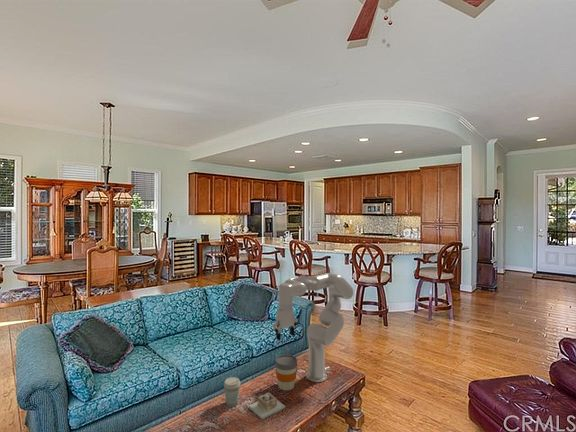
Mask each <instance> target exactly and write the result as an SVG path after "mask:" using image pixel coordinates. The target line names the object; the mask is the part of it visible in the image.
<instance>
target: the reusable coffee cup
mask: <svg viewBox="0 0 576 432" xmlns="http://www.w3.org/2000/svg"><path fill="white" fill-rule="evenodd" d="M274 364H275V365H274V366H275V375H276V380H277V385H278V389H280V390H281V391H291V390H293V389H294V388H295V384H296V379H297V372H298V369H297V367H298V359H297V357H296V356H294V355H290V354H281V355H279V356H278V357H276V359H275V363H274Z"/></svg>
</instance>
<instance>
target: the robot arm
mask: <svg viewBox="0 0 576 432" xmlns="http://www.w3.org/2000/svg"><path fill="white" fill-rule="evenodd" d="M327 288H328V295H329V296H328V297H329V298H328V302H327V303H326V305H325V306H324V308H322V310H321V312H320V314H319V316H318V322H319V323H313V322H312V323H310V324H309V326H308V327H307V328H306V329H307V330H306V335H307V339H308V340H307V342H308V371H307V372H306V373H305V377H306V379H307V380H308V381H311V382H314V383H321V382H325V381H326V380H327V379H328V374H327V372H328V371H330V370H331V367H330V366H325V364H326V363H325V357H326V356H325V354H326V351H325V349H326V348H325V347H329V346H331V345H332V344H334V342H335V340H336V339H337V337H338V336H339V334H340V332H341V331H342V329H343V327H344V324H345V319H344V316H343V315H342V314H341V313H340V311H341V308H342V302H341V299H344V300H350V299H352V297H353V296H354V288H353V287H352V285H351V284H350V283H349V282H348V281H347V280H346V278H344V277H343V276H342V275H340V274H337V273H332V272H326V273H322V274H317V275H312V276H311V275H309V276H298V277H297V276H296V277H291V278H287V279H286V280H285V281H284V282H283V283H282V282H281V283H279V284H278V309H276V316H275V323H274V324H272V326H271V327H272V330H273V331H274V332H275V338H276V340H278V341H281V338H282V337H281V335H282V334H281V331H282V330H283V329H287V328H289V335H291V336H296V335H295V332H296V331H295V329H296V328H297V325H298V321H299V319H298V318H297V317H295V311H294V308H293V305H294V302H293V297H301V296H304V295H305V294H306V293H307V291H319V290H323V289H327Z"/></svg>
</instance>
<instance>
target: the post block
mask: <svg viewBox="0 0 576 432" xmlns="http://www.w3.org/2000/svg"><path fill="white" fill-rule="evenodd" d="M265 401H266V402H267V401H269V395H265ZM248 408H249V409H250V410H251V411H252V412H253V413H254V414H256V415H257V417H258V418H260V419H261V420H265V419H266V418H268V417H270V416H273V415H274V414H276V413H278V412H280V411H282V410H284V409H286V406H285V405H284V404H283V403H282V402H281V401H280V400H278V399H277V407H275V408H273V409H271V410H268V411H266V412H265V411H264V410H263V409H262V408H260V407H259V406H258V400H257V401H255V402H253V403H251V404H249V405H248Z"/></svg>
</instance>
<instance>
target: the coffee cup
mask: <svg viewBox="0 0 576 432" xmlns="http://www.w3.org/2000/svg"><path fill="white" fill-rule="evenodd" d="M240 386H241V381H240V379H239V378H238V377H236V376H230V377H227V378H226V379H225V380H224V383H223V387H224V394H225V404H226V406H227V407H229V408H234V407H236V406H237V405H238V403H239V396H240V395H239V394H240Z"/></svg>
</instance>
